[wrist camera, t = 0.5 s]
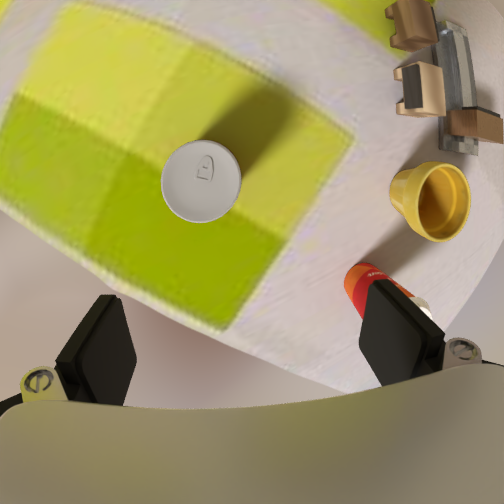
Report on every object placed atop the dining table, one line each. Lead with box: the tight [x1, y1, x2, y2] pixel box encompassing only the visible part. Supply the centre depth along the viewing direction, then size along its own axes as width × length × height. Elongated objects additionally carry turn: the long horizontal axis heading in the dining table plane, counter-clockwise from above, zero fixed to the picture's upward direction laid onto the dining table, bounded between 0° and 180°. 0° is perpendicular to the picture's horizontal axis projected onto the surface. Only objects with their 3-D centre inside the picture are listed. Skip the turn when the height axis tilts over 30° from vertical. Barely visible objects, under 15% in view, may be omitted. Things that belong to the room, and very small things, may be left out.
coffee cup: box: [344, 263, 432, 320], centre depth 37 cm, size 8×8×15 cm
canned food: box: [161, 140, 241, 223], centre depth 32 cm, size 8×8×11 cm
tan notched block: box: [393, 61, 446, 118], centre depth 31 cm, size 5×7×7 cm, turn 2°
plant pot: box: [389, 161, 471, 242], centre depth 35 cm, size 10×10×10 cm
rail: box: [431, 20, 503, 156], centre depth 30 cm, size 23×9×8 cm, turn 2°
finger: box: [385, 0, 440, 52], centre depth 28 cm, size 5×7×7 cm, turn 2°
